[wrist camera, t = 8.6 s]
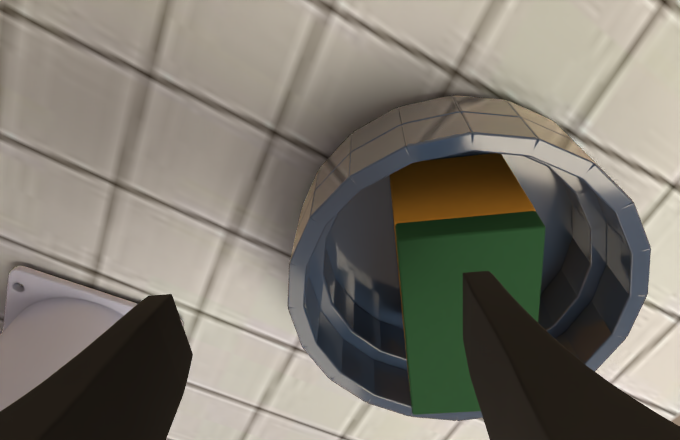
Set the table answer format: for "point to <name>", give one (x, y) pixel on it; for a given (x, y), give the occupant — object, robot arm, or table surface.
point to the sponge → (458, 264)
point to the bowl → (381, 257)
